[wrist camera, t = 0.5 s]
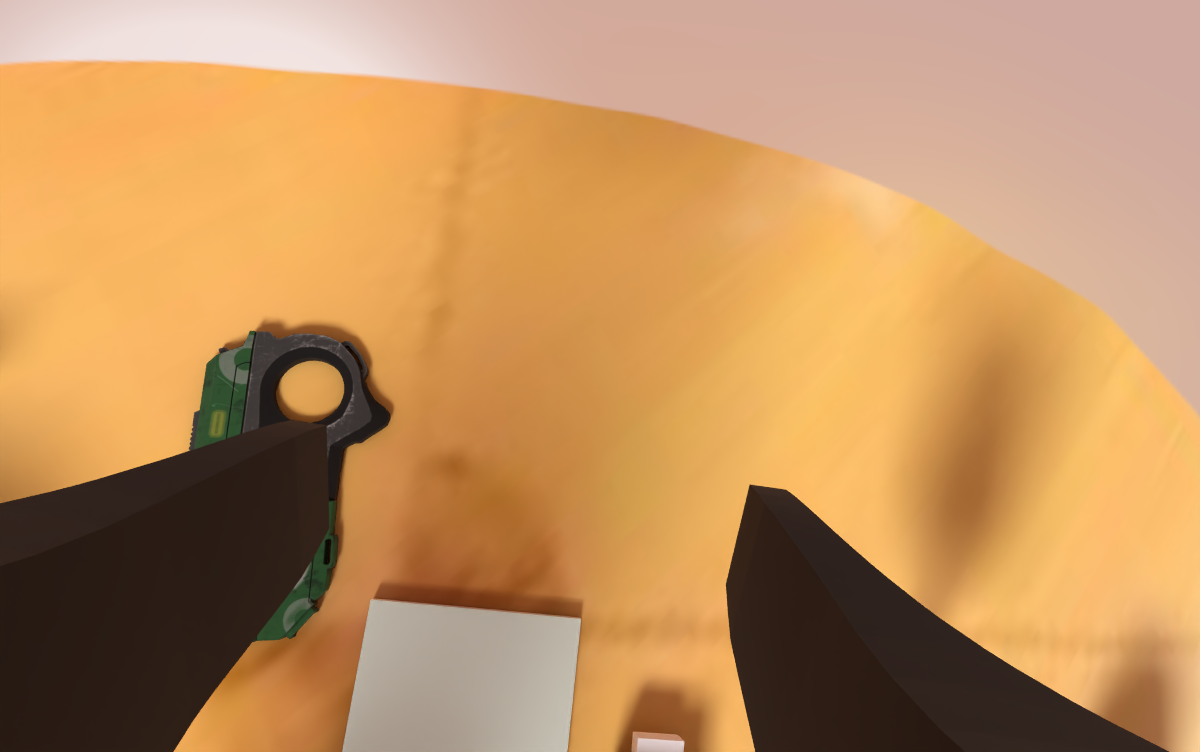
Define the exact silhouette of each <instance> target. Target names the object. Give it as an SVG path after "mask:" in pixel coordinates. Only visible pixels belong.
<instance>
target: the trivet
mask: <svg viewBox="0 0 1200 752" xmlns="http://www.w3.org/2000/svg"><path fill="white" fill-rule="evenodd" d="M580 625H581V618H579V617H571V616H560V615H549V614H538V613H527V612H517V611H506V610H495V609H484V608H474V607H463V606H452V605H441V604H431V603H420V602H409V601H398V600H388V599H377V598H373V599H371V601H370V606H369V612H368V617H367V622H366V628H365V633H364V638H363V643H362V649H361V654H360V659H359V665H358V670H357V675H356V681H355V686H354V691H353V696H352V702H351V707H350V712H349V718H348V723H347V728H346V734H345V739H344V744H343V750H342V752H567V750H568V740H569V731H570V721H571V712H572V702H573V692H574V683H575V673H576V663H577V654H578V644H579V634H580Z"/></svg>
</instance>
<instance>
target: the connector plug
mask: <svg viewBox="0 0 1200 752" xmlns="http://www.w3.org/2000/svg"><path fill="white" fill-rule="evenodd" d="M631 752H684V741H683V740H682V739H681V737H680V736H679V735H677V734H662V733H648V732H633V738H632V751H631Z"/></svg>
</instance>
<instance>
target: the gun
mask: <svg viewBox="0 0 1200 752" xmlns="http://www.w3.org/2000/svg"><path fill="white" fill-rule="evenodd" d="M347 348H351V349H352V350H353V351H354V353H355V354H356V355H357V356H358V358H359V361H360V363H361V365H362V368H363V372H362V371H361V369H360V367H359V365H358V363H357V362H356V360H355V359H354V358H353V356H352V355H351V354H350V353H349V352H348V350H347ZM219 353H220V354H218V355H216V356H215V357H214V358H213V359H212V360H210V361H209V362H208V363H207V365H206V372H205V379H204V385H203V392H202V399H201V405H200V410H199V411H196V412H194V419H193V425H192V426H193V428H192V431H193V432H192V433H191V435H192V437H191V438H190V440H191V442H190V445H191V446H190V447H189V450H190V451H191V450H194V449H197V448H200V447H203V446H206V445H209V444H212V443H215V442H218V441H221V440H224V439H227V438H230V437H233V436H236V435H239V434H242V433H245V432H248V431H251V430H254V429H258V428H261V427H264V426H268V425H272V424H275V423H279V422H284V421H290V420H289V419H288V418H287V417H286V416H284V415H283V413H282V412H281V411H280V409H279V407H278V404H277V400H276V390H277V386H278V383H279V381H280V379H281V378H282V376H283V375H284V374H285V373H286V372H287V371H288V370H289V369H290V368H292V367H293V366H295V365H297V364H299V363H301V362H306V361H322V362H326V363H328V364H330V365H332V366H334V367H335V368H336V369H337V370H338V371H339V372H340V374H341V376H342V378H343V381H344V396H343V399H342V401H341V404H340V405H339V407H338V408H337V409H336V410H335V411H334V413H333V414H331V415H330V416H328V417H326V418H325V419H323V420H321V421H318V422H313V423H315V424H322V425H327V455H328V490H329V526H330V528H329V530H328V532H327V534H326V535H325V537H324V539H323V541H322V543H321V545H320V546H319V548H318V550H317V552H316V554H315V556H314V557H313V559H312V561H311V562H310V564H309V566H308V567H307V569H306V571H305V572H304V574H303V576H302V578H301V579H300V580H299V582H298V583H297V584H296V586H295V587H294V588H293V590H292V591H291V592H290V594H289V595H288V596H287V598H286V599H285V600H284V602H283V603H282V604H281V605H280V607H279V608H278V609H277V611H276V612H275V613H274V615H273V616H272V617H271V619H270V620H269V621H268V622H267V624H266V625H265V626H264V628H263V629H262V630H261V631H260V633H259V634H258V635H257V637H256V638H255V639H254V640H253V642H255V641H262V640H280V639H282V638H284V637H288V638H289V639H291V638H293V637H295V636H296V635H294V634H295V633H296V632H297V631H298V630H299V629H300V628H301V627H302V626H303V624H304V623H305V622H306V621H307V620H308V619H309V618H310V617H311V616H312V615H313V614H314V613H315V612H318V611H319V609H317V608H316V607H315V605H316V604H317V603H318V602H317V601H316V600H317V599H320V598H321V597H322V596H323V594H324V593H325V592H326V591H327V590H328V589H329V586H330V580H331V572H332V568H334V567H335V565H336V563H337V550H338V536H337V535H334V531H335V520H336V509H337V502H336V501H335V500H337V495H338V489H339V480H340V473H341V467H342V461H343V454H344V450H345V449H346V448H347V447H349V446H351V445H353V444H355V443H362V442H364V441H365V440H366V439H368V438H369V437H371V436H372V435H374V434H376V433H377V432H379V431H380V430H382V429H383V428H385V427H386V426H387V425H388V423H389V421H390V414H389V412H388V411H387V410H386V409H385V408H384V407H383V406H382V405H381V404H379V403H378V402H377V401H375V399H374V398H373V396H372V395H371V393H370V392H369V390H368V387H367V384H366V382H365V379H366V378H367V376H368V368H367V365H366V363H365V361H364V359H363V357H362V355H361V354H360V353H359V352H358V350H357V349H356V348H355V347H354V345H353V344H352V343H351V342H349V341H344V342H342V343H340V342H339V341H336V340H334V339H332V338H330V337H328V336H323V335H315V334H293V335H290V336H287V337H284V338H281V339H278V338H276V337H274V336H273V335H272V334H271V333H270V332H258V331H257V332H255V331H250V332H249V335H248V337H247V339H246V341H245V342H244V345H243V346H241V347H238V348H235V349H232V350H228V349H227V348H225V347H224V348H220V349H219ZM329 540H331V554H330V563H329V564H328V563H327V561H328V548H329Z"/></svg>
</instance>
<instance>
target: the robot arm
mask: <svg viewBox="0 0 1200 752" xmlns="http://www.w3.org/2000/svg"><path fill="white" fill-rule="evenodd" d="M329 528H330V526H329V490H328V455H327V425H322V424H315V423H308V422H301V421H294V420H290V421H284V422H279V423H275V424H272V425H268V426H264V427H261V428H258V429H254V430H251V431H248V432H245V433H242V434H239V435H236V436H233V437H230V438H227V439H224V440H221V441H218V442H215V443H212V444H209V445H206V446H203V447H200V448H197V449H194V450H191V451H188V452H185V453H182V454H179V455H176V456H173V457H169V458H166V459H163V460H160V461H156V462H153V463H150V464H147V465H143V466H140V467H137V468H133V469H130V470H127V471H123V472H120V473H117V474H113V475H110V476H107V477H104V478H100V479H97V480H94V481H90V482H86V483H82V484H79V485H75V486H71V487H67V488H63V489H60V490H56V491H52V492H48V493H43V494H39V495H35V496H30V497H26V498H22V499H17V500H13V501H9V502H4V503H0V752H174V750H175V748H176V747H177V745H178V744H179V742H180V740H181V739H182V737H183V736H184V734H185V733H186V731H187V729H188V728H189V726H190V725H191V723H192V722H193V720H194V719H195V717H196V716H197V714H198V713H199V712H200V710H201V709H202V707H203V706H204V705H205V703H206V702H207V700H208V699H209V698H210V696H211V695H212V693H213V692H214V691H215V689H216V688H217V687H218V686H219V684H220V683H221V682H222V680H223V679H224V678H225V677H226V675H227V674H228V673H229V671H230V670H231V669H232V667H233V666H234V665H235V664H236V662H237V661H238V660H239V658H240V657H241V656H242V655H243V653H244V652H245V651H246V649H247V648H248V647H249V646H250V644H251V643H252V642H253V640H254V639H255V638H256V637H257V635H258V634H259V633H260V631H261V630H262V629H263V628H264V626H265V625H266V624H267V622H268V621H269V620H270V619H271V617H272V616H273V615H274V613H275V612H276V611H277V609H278V608H279V607H280V605H281V604H282V603H283V602H284V600H285V599H286V598H287V596H288V595H289V594H290V592H291V591H292V590H293V588H294V587H295V586H296V584H297V583H298V582H299V580H300V579H301V578H302V576H303V574H304V572H305V571H306V569H307V567H308V566H309V564H310V562H311V561H312V559H313V557H314V556H315V554H316V552H317V550H318V548H319V546H320V545H321V543H322V541H323V539H324V537H325V535H326V534H327V532H328V530H329ZM726 592H727V606H728V618H729V628H730V639H731V644H732V649H733V653H734V658H735V663H736V667H737V672H738V676H739V681H740V686H741V690H742V695H743V699H744V703H745V708H746V712H747V717H748V721H749V726H750V730H751V735H752V739H753V743H754V748H755V752H1168V751H1166V750H1164V749H1162V748H1161V747H1159V746H1157V745H1155V744H1153V743H1151V742H1149V741H1147V740H1145V739H1143V738H1141V737H1139V736H1137V735H1135V734H1133V733H1131V732H1129V731H1127V730H1125V729H1123V728H1121V727H1119V726H1117V725H1115V724H1113V723H1111V722H1109V721H1107V720H1106V719H1104V718H1102V717H1100V716H1098V715H1096V714H1095V713H1093V712H1091V711H1089V710H1087V709H1085V708H1083V707H1082V706H1080V705H1078V704H1076V703H1074V702H1072V701H1071V700H1069V699H1067V698H1065V697H1064V696H1062V695H1060V694H1058V693H1057V692H1055V691H1053V690H1052V689H1050V688H1048V687H1047V686H1045V685H1043V684H1041V683H1040V682H1038V681H1036V680H1035V679H1033V678H1031V677H1030V676H1028V675H1026V674H1024V673H1023V672H1021V671H1019V670H1018V669H1016V668H1014V667H1013V666H1011V665H1009V664H1008V663H1006V662H1005V661H1003V660H1002V659H1000V658H998V657H997V656H995V655H994V654H992V653H990V652H989V651H987V650H986V649H984V648H983V647H981V646H980V645H978V644H977V643H975V642H974V641H972V640H971V639H970V638H968V637H967V636H965V635H964V634H962V633H961V632H959V631H958V630H956V629H955V628H953V627H952V626H951V625H949V624H948V623H946V622H945V621H943V620H942V619H940V618H939V617H938V616H936V615H935V614H934V613H932V612H931V611H929V610H928V609H927V608H925V607H924V606H923V605H921V604H920V603H919V602H917V601H916V600H915V599H914V598H912V597H911V596H910V595H909V594H907V593H906V592H905V591H904V590H902V589H901V588H900V587H898V586H897V585H896V584H895V583H893V582H892V581H891V580H890V579H888V578H887V577H886V576H885V575H884V574H882V573H881V572H880V571H879V570H878V569H876V568H875V567H874V566H873V565H872V564H870V563H869V562H868V561H867V560H866V559H865V558H863V557H862V556H861V555H860V554H859V553H858V552H857V551H855V550H854V549H853V548H852V547H851V546H850V545H849V544H848V543H846V542H845V541H844V540H843V539H842V538H841V537H840V536H839V535H838V534H836V533H835V532H834V531H833V530H832V529H831V528H830V527H829V526H828V525H826V524H825V523H824V522H823V521H822V520H821V519H820V518H819V517H818V516H817V515H816V514H814V513H813V512H812V511H811V510H810V509H809V508H808V507H807V506H805V505H804V504H803V503H802V502H801V501H800V500H799V499H797V498H796V497H795V496H794V495H792V494H791V493H790V492H788V491H787V490H784V489H777V488H770V487H763V486H756V485H750V486H749V490H748V494H747V498H746V503H745V507H744V511H743V515H742V519H741V523H740V528H739V532H738V536H737V540H736V544H735V549H734V553H733V557H732V561H731V565H730V569H729V574H728V578H727V582H726Z"/></svg>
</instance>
